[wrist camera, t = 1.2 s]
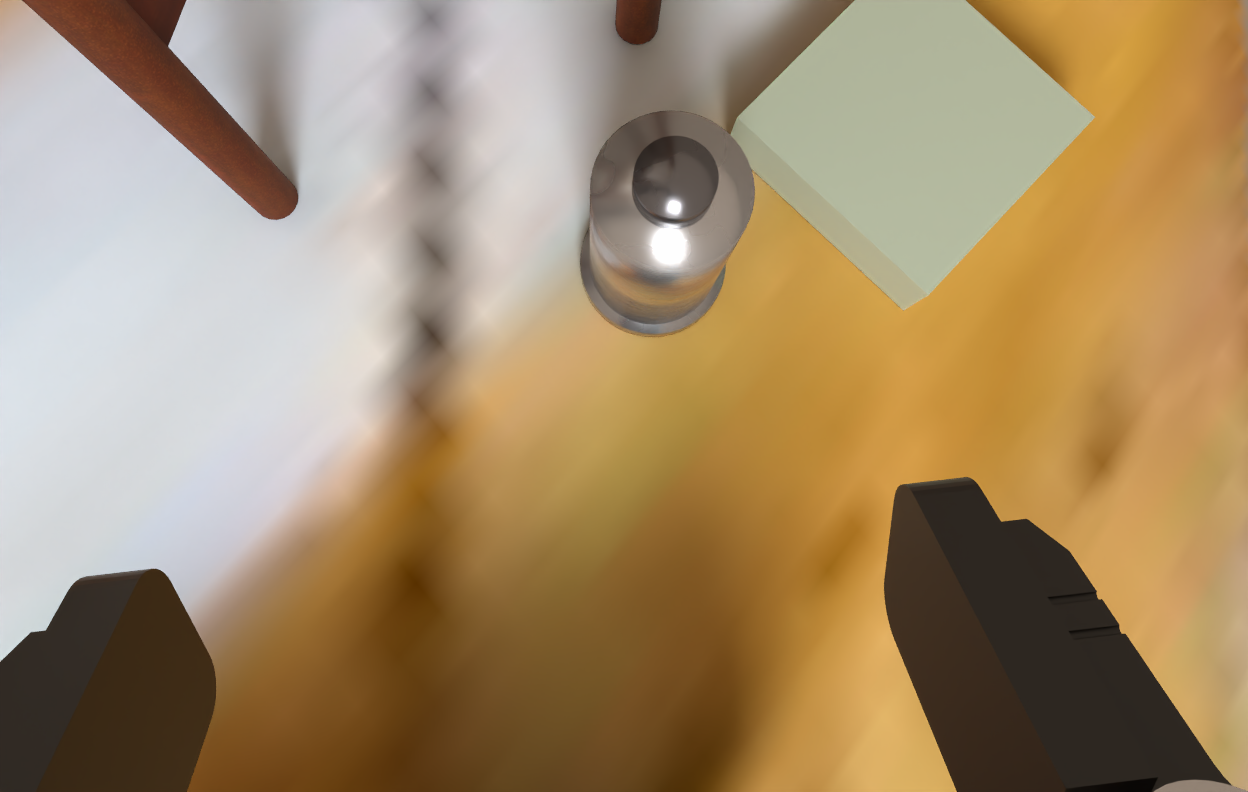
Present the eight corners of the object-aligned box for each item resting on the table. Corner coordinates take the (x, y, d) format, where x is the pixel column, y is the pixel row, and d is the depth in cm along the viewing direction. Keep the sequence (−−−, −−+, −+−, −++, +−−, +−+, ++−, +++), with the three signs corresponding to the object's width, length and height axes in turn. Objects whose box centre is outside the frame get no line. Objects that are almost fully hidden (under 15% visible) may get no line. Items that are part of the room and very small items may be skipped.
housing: (550, 267, 41) (537, 177, 29) (649, 169, 41) (672, 45, 30) (654, 366, 40) (679, 312, 29) (752, 265, 41) (813, 176, 30)
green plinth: (726, 145, 42) (737, 117, 39) (885, -14, 43) (907, -52, 40) (903, 310, 41) (928, 295, 38) (1059, 144, 42) (1094, 116, 39)
